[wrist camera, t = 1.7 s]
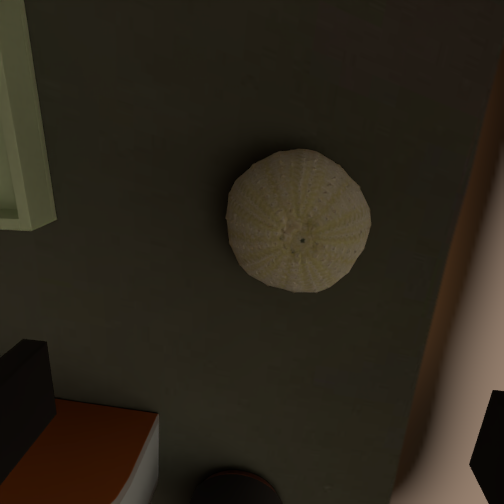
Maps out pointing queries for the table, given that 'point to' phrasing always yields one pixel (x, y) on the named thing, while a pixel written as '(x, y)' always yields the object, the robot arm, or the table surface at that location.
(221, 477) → the mug
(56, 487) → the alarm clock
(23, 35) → the tray
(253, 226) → the sea urchin shell
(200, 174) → the table surface
